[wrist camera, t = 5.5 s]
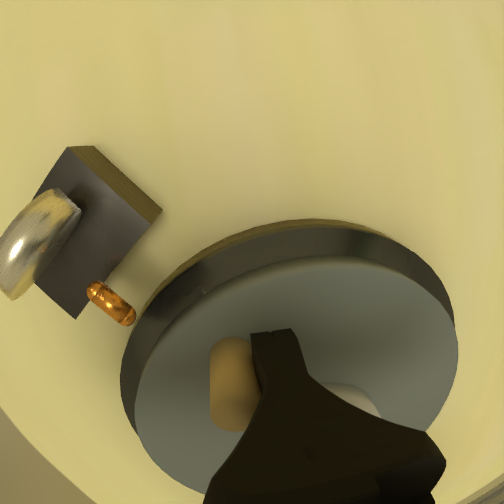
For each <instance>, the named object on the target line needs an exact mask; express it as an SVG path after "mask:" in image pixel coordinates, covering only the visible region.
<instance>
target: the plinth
mask: <svg viewBox="0 0 504 504" xmlns="http://www.w3.org/2000/svg"><path fill="white" fill-rule="evenodd" d="M319 255H340V256H354V257H359V258H364V259H369V260H374V261H377V262H380V263H382V264H385V265H388V266H390V267H393V268H395V269H397V270H398V271H400V272H402V273H403V274H405V275H407V276H408V277H410V278H411V279H412V280H414V281H415V282H416V283H418V284H419V285H420V286H422V287H423V288H424V289H425V290H427V291H428V292H429V293H430V294H431V295H432V296H433V297H435V298H436V299H437V300H438V301H439V302H440V303H441V305H442V306H443V307H444V309H445V310H446V312H447V313H448V314H449V316H450V319H451V321H452V323H453V326H454V328H455V324H454V315H453V309H452V306H451V302H450V299H449V296H448V294H447V292H446V290H445V288H444V286H443V284H442V282H441V280H440V279H439V277H438V276H437V275H436V273H435V272H434V271H433V269H432V268H431V267H430V266H429V265H428V264H427V263H426V262H425V261H424V260H422V259H421V258H420V257H419V256H418V255H417V254H415V253H414V252H412V251H411V250H409V249H407V248H406V247H404V246H402V245H401V244H399V243H397V242H396V241H394V240H392V239H391V238H389V237H387V236H386V235H384V234H382V233H380V232H377V231H375V230H372V229H369V228H367V227H364V226H361V225H357V224H352V223H348V222H343V221H338V220H323V219H303V220H290V221H281V222H277V223H272V224H268V225H263V226H259V227H254V228H252V229H249V230H246V231H243V232H241V233H238V234H235V235H232V236H230V237H227V238H225V239H223V240H221V241H219V242H217V243H215V244H214V245H212V246H210V247H208V248H206V249H204V250H202V251H201V252H199V253H198V254H196V255H195V256H193V257H192V258H191V259H189V260H188V261H186V262H185V263H184V264H182V265H181V266H179V267H178V268H177V269H176V270H175V271H174V272H173V273H172V274H171V275H170V276H169V277H168V278H167V279H166V280H165V281H163V282H162V283H161V284H160V286H159V287H158V288H157V290H156V291H155V292H154V293H153V295H152V296H151V297H150V298H149V300H148V301H147V302H146V304H145V306H144V308H143V309H142V311H141V313H140V315H139V317H138V319H137V320H136V322H135V325H134V327H133V330H132V333H131V335H130V338H129V340H128V343H127V346H126V349H125V352H124V356H123V359H122V365H121V373H120V388H121V397H122V401H123V405H124V409H125V412H126V415H127V417H128V419H129V421H130V423H131V426H132V427H133V429H134V430H135V432H136V433H137V435H138V432H137V428H136V423H135V401H136V396H137V391H138V387H139V383H140V379H141V375H142V371H143V368H144V364H145V362H146V360H147V357H148V355H149V353H150V350H151V348H152V347H153V345H154V344H155V342H156V341H157V339H158V338H159V336H160V334H161V333H162V331H163V330H164V329H165V328H166V327H167V326H168V325H169V324H170V323H171V321H172V320H173V319H174V318H175V317H176V316H177V315H178V314H179V313H180V312H181V311H183V310H184V309H185V308H186V307H187V306H189V305H190V304H191V303H192V302H193V301H195V300H196V299H197V298H198V297H200V296H202V295H203V294H205V293H206V292H208V291H210V290H211V289H213V288H214V287H216V286H218V285H219V284H221V283H223V282H225V281H227V280H229V279H231V278H234V277H236V276H238V275H240V274H242V273H244V272H247V271H250V270H253V269H256V268H259V267H262V266H265V265H268V264H271V263H274V262H279V261H284V260H289V259H293V258H298V257H307V256H319Z"/></svg>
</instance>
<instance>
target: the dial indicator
mask: <svg viewBox="0 0 504 504" xmlns="http://www.w3.org/2000/svg"><path fill="white" fill-rule="evenodd" d="M161 211H162V209H161V208H160V207H159V206H158V205H157V204H156V203H155V202H154V201H152V200H151V199H150V198H149V197H148V196H147V195H146V194H145V193H144V192H143V191H141V190H140V189H139V188H138V187H137V186H136V185H135V184H134V183H133V182H132V181H131V180H129V179H128V178H127V177H126V176H125V175H124V174H123V173H122V172H121V171H120V170H119V169H117V168H116V167H115V166H114V165H113V164H112V163H111V162H110V161H109V160H108V159H107V158H106V157H105V156H104V155H102V154H101V153H100V152H99V151H98V150H97V149H96V148H95V147H94V146H73V147H67V148H66V149H65V150H64V152H63V153H62V155H61V156H60V158H59V159H58V160H57V162H56V163H55V165H54V166H53V168H52V169H51V171H50V172H49V174H48V175H47V177H46V179H45V180H44V182H43V183H42V185H41V186H40V188H39V190H38V191H37V193H36V195H35V196H34V198H33V200H32V201H31V202H30V203H29V204H28V205H27V206H26V207H25V208H24V209H23V210H22V211H21V212H20V213H19V214H18V215H17V216H16V218H15V219H14V220H13V221H12V222H11V224H10V225H9V226H8V228H7V229H6V230H5V232H4V233H3V235H2V236H1V238H0V290H1V291H2V292H3V293H4V294H5V295H6V296H7V297H8V298H9V299H10V300H16V299H17V298H19V297H20V296H21V295H22V294H23V293H25V292H26V291H27V290H28V289H29V288H30V287H31V285H32V284H33V283H35V284H36V285H37V286H38V287H39V288H40V289H41V290H42V291H44V292H45V293H46V294H47V295H48V296H49V297H50V298H51V299H52V300H53V301H55V302H56V303H57V304H58V305H59V306H60V307H61V308H62V309H64V310H65V311H66V312H67V313H68V314H69V315H71V316H72V317H73V318H74V319H75V320H76V318H77V317H78V316H79V314H80V313H81V311H82V310H83V309H84V307H85V306H86V305H87V303H88V302H89V301H90V300H91V301H92V302H93V303H95V304H96V305H97V306H98V307H99V308H101V309H102V310H103V311H104V312H105V313H107V314H108V315H109V316H110V317H112V318H113V319H114V320H115V321H117V322H118V323H119V324H121V325H123V326H129V325H131V324H133V323H134V321H135V319H136V312H135V310H134V308H133V307H132V306H130V305H129V304H128V303H127V302H125V301H124V300H123V299H122V298H121V297H119V296H118V295H117V294H116V293H115V292H113V291H112V290H111V289H110V288H109V287H107V286H106V285H105V284H104V283H103V282H104V281H105V280H106V279H107V277H108V276H109V275H110V273H111V272H112V271H113V270H114V268H115V267H116V266H117V265H118V263H119V262H120V261H121V260H122V259H123V257H124V256H125V255H126V254H127V252H128V251H129V250H130V249H131V248H132V246H133V245H134V244H135V243H136V242H137V240H138V239H139V238H140V237H141V236H142V234H143V233H144V232H145V231H146V230H147V229H148V227H149V226H150V225H151V224H152V223H153V221H154V220H155V219H156V218H157V216H158V215H159V214H160V213H161Z"/></svg>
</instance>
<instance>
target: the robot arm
mask: <svg viewBox="0 0 504 504" xmlns="http://www.w3.org/2000/svg"><path fill="white" fill-rule="evenodd" d="M250 339H251V348H252V357H253V362H254V368H255V373H256V377H257V381H258V384H259V387H260V391H261V394H262V395H261V398H260V400H259V403H258V405H257V408H256V410H255V412H254V414H253V416H252V418H251V421H250V423H249V425H248V426H247V428H246V430H245V432H244V434H243V435H242V437H241V438H240V440H239V442H238V443H237V445H236V446H235V448H234V450H233V451H232V453H231V454H230V455H229V457H228V458H227V459H226V461H225V462H224V463H223V464H222V466H221V467H220V468H219V469H218V471H217V472H216V473H215V474H214V475H213V477H212V478H211V480H210V483H209V486H208V489H207V491H206V494H205V498H204V501H203V504H435V500H434V498H433V496H432V495H431V491H432V490H433V488H434V487H435V485H436V484H437V482H438V481H439V479H440V478H441V476H442V474H443V472H444V470H445V468H446V459H445V458H444V456H443V454H442V453H441V451H440V450H439V448H438V447H437V445H436V444H435V443H434V442H433V440H432V439H431V438H430V437H429V436H428V434H427V433H426V432H424V431H421V430H417V429H413V428H410V427H406V426H403V425H399V424H396V423H393V422H390V421H387V420H385V419H382V418H379V417H377V416H374V415H372V414H370V413H368V412H366V411H364V410H362V409H360V408H358V407H356V406H354V405H352V404H350V403H348V402H346V401H345V400H343V399H341V398H340V397H338V396H337V395H335V394H334V393H332V392H331V391H329V390H328V389H326V388H325V387H324V386H322V385H321V384H320V383H318V382H317V381H316V380H315V379H314V378H312V377H311V376H310V375H309V374H308V371H307V368H306V364H305V361H304V358H303V354H302V351H301V348H300V344H299V341H298V338H297V336H296V335H295V333H294V332H293V330H292V329H291V328H288V329H281V330H274V331H272V332H271V333H270V332H269V331H266V332H259V333H251V334H250ZM468 504H504V481H503V482H502V483H500V484H499V485H497V486H496V487H494V488H493V489H491V490H489V491H488V492H486V493H485V494H483V495H482V496H480V497H478V498H477V499H475V500H473V501H472V502H470V503H468Z"/></svg>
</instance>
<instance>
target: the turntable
mask: <svg viewBox="0 0 504 504" xmlns="http://www.w3.org/2000/svg"><path fill="white" fill-rule="evenodd" d="M288 328H291V329H292V330H293V332H294V333H295V335H296V336H297V338H298V341H299V344H300V348H301V351H302V354H303V358H304V361H305V364H306V368H307V371H308V374H309V375H310V376H311V377H312V378H314V379H315V380H316V381H317V382H318V383H320V384H321V385H322V386H324V387H325V388H326V389H328V390H329V391H331V392H332V393H334V394H335V395H337V396H338V397H340V398H341V399H343V400H345V401H346V402H348V403H350V404H352V405H354V406H356V407H358V408H360V409H362V410H364V411H366V412H368V413H370V414H372V415H374V416H377V417H379V418H382V419H385V420H387V421H390V422H393V423H396V424H399V425H403V426H406V427H410V428H413V429H417V430H421V431H424V432H425V431H426V430H427V429H428V428H429V426H430V425H431V424H432V422H433V421H434V420H435V418H436V417H437V415H438V414H439V412H440V411H441V409H442V407H443V405H444V403H445V401H446V400H447V397H448V395H449V393H450V390H451V388H452V385H453V382H454V378H455V374H456V370H457V363H458V341H457V336H456V332H455V328H454V326H453V323H452V321H451V319H450V316H449V314H448V313H447V312H446V310H445V309H444V307H443V306H442V305H441V303H440V302H439V301H438V300H437V299H436V298H435V297H433V296H432V295H431V294H430V293H429V292H428V291H427V290H425V289H424V288H423V287H422V286H420V285H419V284H418V283H416V282H415V281H414V280H412V279H411V278H410V277H408V276H407V275H405V274H403V273H402V272H400V271H398V270H397V269H395V268H393V267H390V266H388V265H385V264H382V263H380V262H377V261H374V260H369V259H364V258H359V257H354V256H340V255H319V256H307V257H298V258H293V259H289V260H284V261H279V262H274V263H271V264H268V265H265V266H262V267H259V268H256V269H253V270H250V271H247V272H244V273H242V274H240V275H238V276H236V277H234V278H231V279H229V280H227V281H225V282H223V283H221V284H219V285H218V286H216V287H214V288H213V289H211V290H210V291H208V292H206V293H205V294H203V295H202V296H200V297H198V298H197V299H196V300H195V301H193V302H192V303H191V304H190V305H189V306H187V307H186V308H185V309H184V310H183V311H181V312H180V313H179V314H178V315H177V316H176V317H175V318H174V319H173V320H172V321H171V323H170V324H169V325H168V326H167V327H166V328H165V329H164V330H163V331H162V333H161V334H160V336H159V338H158V339H157V341H156V342H155V344H154V345H153V347H152V348H151V350H150V353H149V355H148V357H147V360H146V362H145V364H144V368H143V371H142V375H141V379H140V383H139V387H138V391H137V396H136V401H135V423H136V428H137V432H138V436H139V438H140V440H141V442H142V445H143V447H144V449H145V450H146V452H147V453H148V454H149V456H150V457H151V459H152V460H153V461H154V462H155V463H156V464H157V465H158V466H159V467H160V468H161V469H162V470H163V471H164V472H165V473H167V474H168V475H169V476H170V477H172V478H173V479H174V480H176V481H178V482H179V483H181V484H183V485H185V486H186V487H188V488H191V489H193V490H195V491H197V492H200V493H202V494H206V491H207V489H208V486H209V483H210V480H211V478H212V477H213V475H214V474H215V473H216V472H217V471H218V469H219V468H220V467H221V466H222V464H223V463H224V462H225V461H226V459H227V458H228V457H229V455H230V454H231V453H232V451H233V450H234V448H235V446H236V445H237V443H238V442H239V440H240V438H241V437H242V435H243V434H244V432H245V430H246V428H247V426H248V425H249V423H250V421H251V418H252V416H253V414H254V412H255V410H256V408H257V405H258V403H259V400H260V398H261V395H262V394H261V391H260V387H259V384H258V381H257V377H256V373H255V368H254V362H253V357H252V348H251V339H250V334H251V333H259V332H266V331H269V332H270V333H271V332H272V331H274V330H281V329H288Z"/></svg>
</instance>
